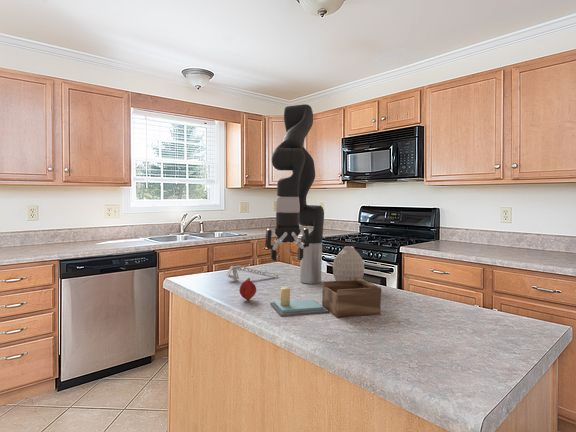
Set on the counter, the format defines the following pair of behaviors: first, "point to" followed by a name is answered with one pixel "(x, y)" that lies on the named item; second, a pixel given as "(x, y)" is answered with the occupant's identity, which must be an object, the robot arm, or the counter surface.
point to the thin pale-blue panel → (295, 303)
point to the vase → (348, 265)
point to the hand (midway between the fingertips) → (287, 260)
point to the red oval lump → (247, 289)
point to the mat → (298, 311)
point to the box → (351, 298)
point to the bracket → (246, 271)
